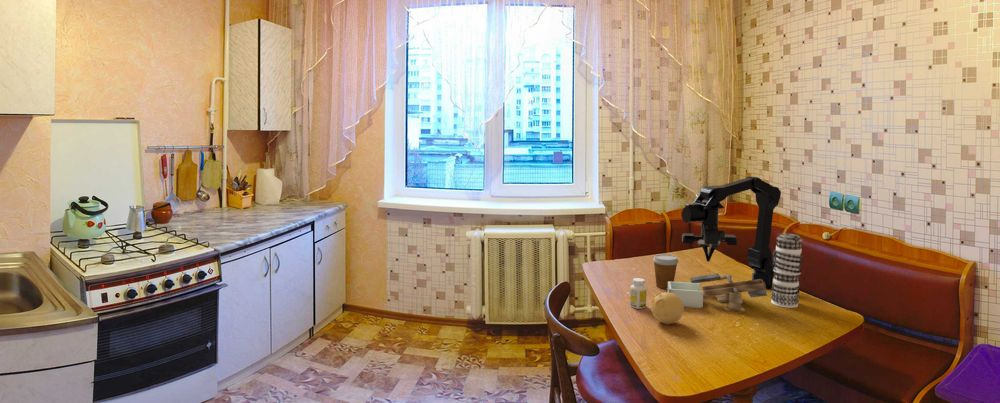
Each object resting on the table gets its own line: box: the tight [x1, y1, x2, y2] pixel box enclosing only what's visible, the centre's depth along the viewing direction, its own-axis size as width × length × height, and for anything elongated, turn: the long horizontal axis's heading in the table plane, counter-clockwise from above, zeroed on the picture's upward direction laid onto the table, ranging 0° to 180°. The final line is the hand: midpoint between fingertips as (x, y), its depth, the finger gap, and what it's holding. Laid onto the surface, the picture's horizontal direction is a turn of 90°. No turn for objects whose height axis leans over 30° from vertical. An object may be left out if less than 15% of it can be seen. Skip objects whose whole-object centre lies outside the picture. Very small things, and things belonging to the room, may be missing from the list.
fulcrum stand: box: [716, 282, 745, 312], centre depth 177 cm, size 8×13×6 cm, turn 165°
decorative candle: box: [770, 232, 804, 309], centre depth 176 cm, size 9×9×25 cm
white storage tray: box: [666, 281, 704, 309], centre depth 180 cm, size 11×9×6 cm
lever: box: [689, 273, 768, 298], centre depth 180 cm, size 23×19×5 cm
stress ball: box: [650, 291, 685, 325], centre depth 161 cm, size 10×10×10 cm
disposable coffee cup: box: [652, 253, 679, 290], centre depth 197 cm, size 10×10×12 cm
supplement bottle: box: [629, 277, 647, 310], centre depth 176 cm, size 5×5×10 cm
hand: (708, 261), depth 189 cm, fingers closed
